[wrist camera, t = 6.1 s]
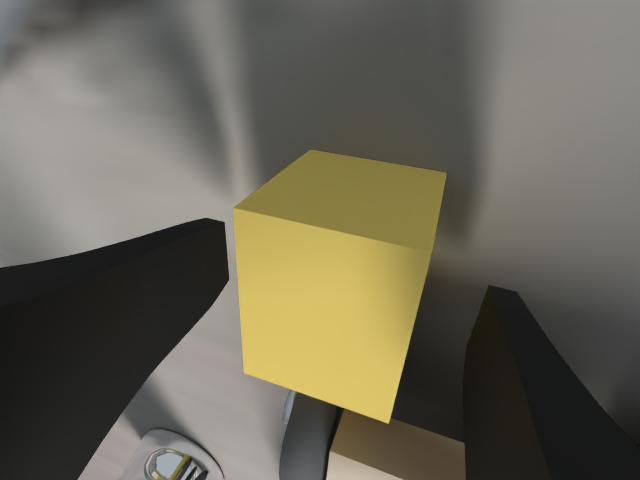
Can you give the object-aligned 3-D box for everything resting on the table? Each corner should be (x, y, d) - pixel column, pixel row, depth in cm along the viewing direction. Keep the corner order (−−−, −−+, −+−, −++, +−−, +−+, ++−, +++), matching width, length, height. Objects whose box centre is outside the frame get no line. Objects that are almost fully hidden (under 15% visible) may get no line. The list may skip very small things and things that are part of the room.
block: (413, 309, 13) (389, 423, 9) (304, 281, 14) (244, 372, 10) (447, 171, 10) (431, 253, 7) (311, 148, 11) (232, 208, 8)
